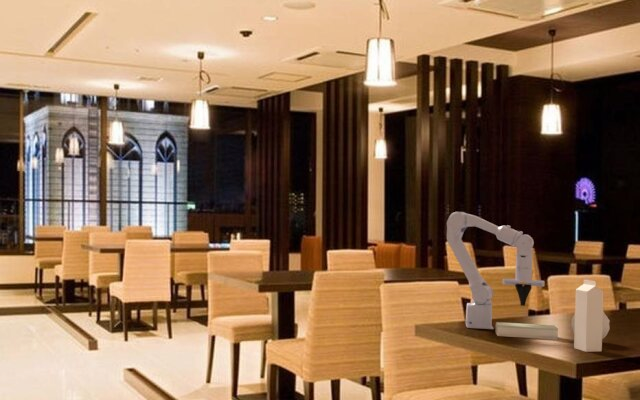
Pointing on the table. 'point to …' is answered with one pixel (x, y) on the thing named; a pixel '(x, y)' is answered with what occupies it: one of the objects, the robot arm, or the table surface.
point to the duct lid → (526, 326)
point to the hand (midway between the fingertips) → (522, 305)
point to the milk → (588, 317)
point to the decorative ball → (604, 325)
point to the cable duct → (527, 333)
